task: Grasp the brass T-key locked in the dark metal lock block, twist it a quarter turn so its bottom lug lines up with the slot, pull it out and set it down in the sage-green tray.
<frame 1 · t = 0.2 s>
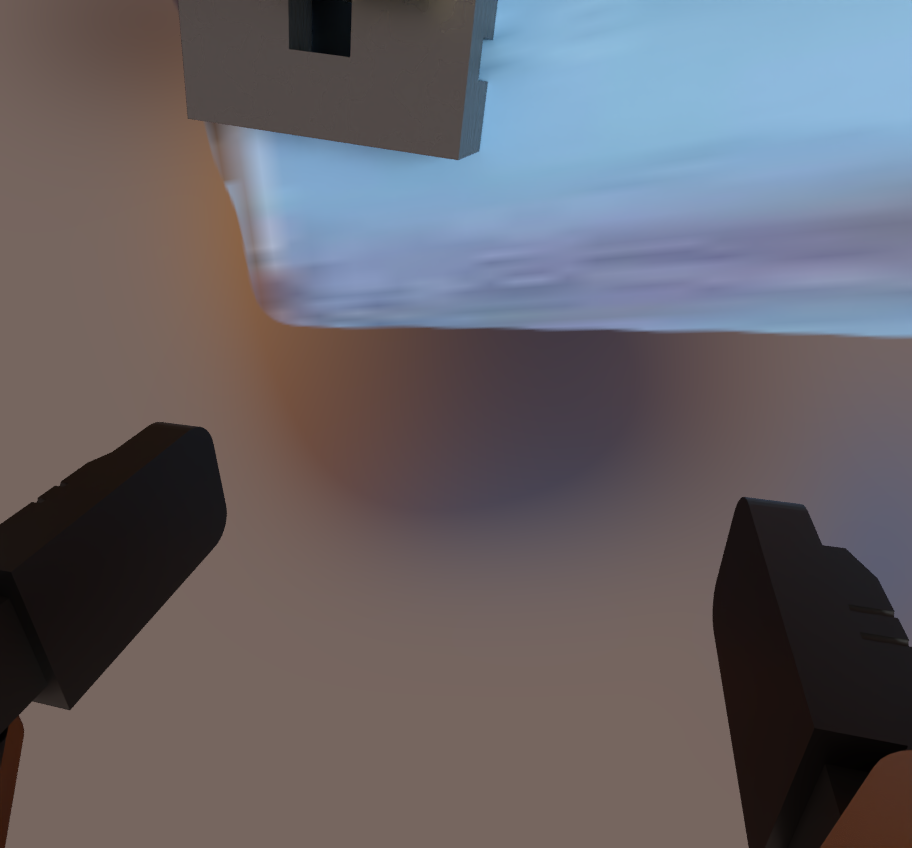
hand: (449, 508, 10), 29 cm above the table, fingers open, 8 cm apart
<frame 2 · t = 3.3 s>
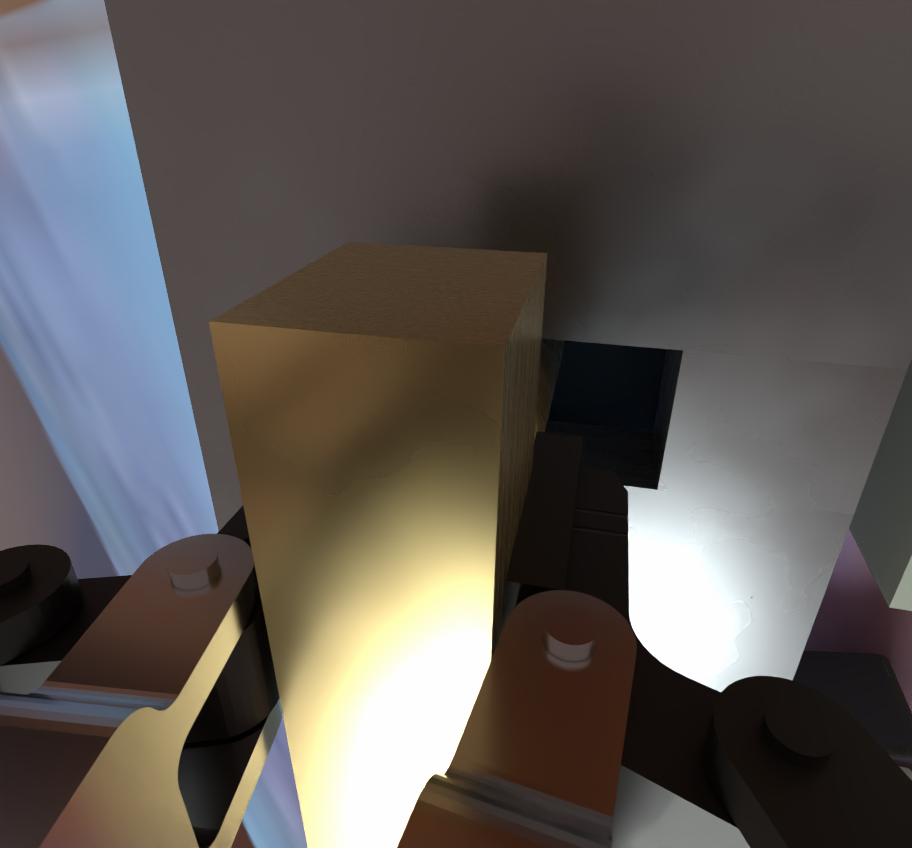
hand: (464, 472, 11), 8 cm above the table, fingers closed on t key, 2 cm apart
t key: (527, 324, 17), resting in lock block, touching gripper
lock block: (526, 324, 17), on the table
calculator: (699, 778, 25), on the table
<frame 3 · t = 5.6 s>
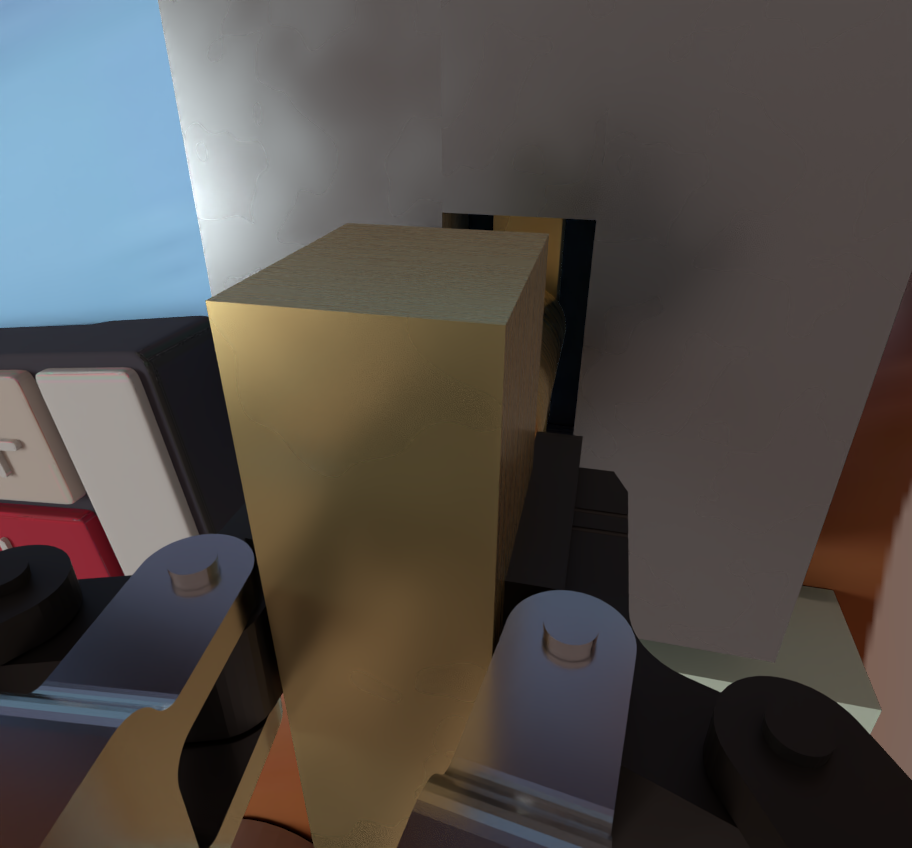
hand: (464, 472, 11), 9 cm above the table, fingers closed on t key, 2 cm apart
t key: (528, 310, 17), point 1 cm above the table, touching gripper
lock block: (537, 307, 18), on the table
tray: (585, 703, 25), on the table
calculator: (101, 450, 26), on the table
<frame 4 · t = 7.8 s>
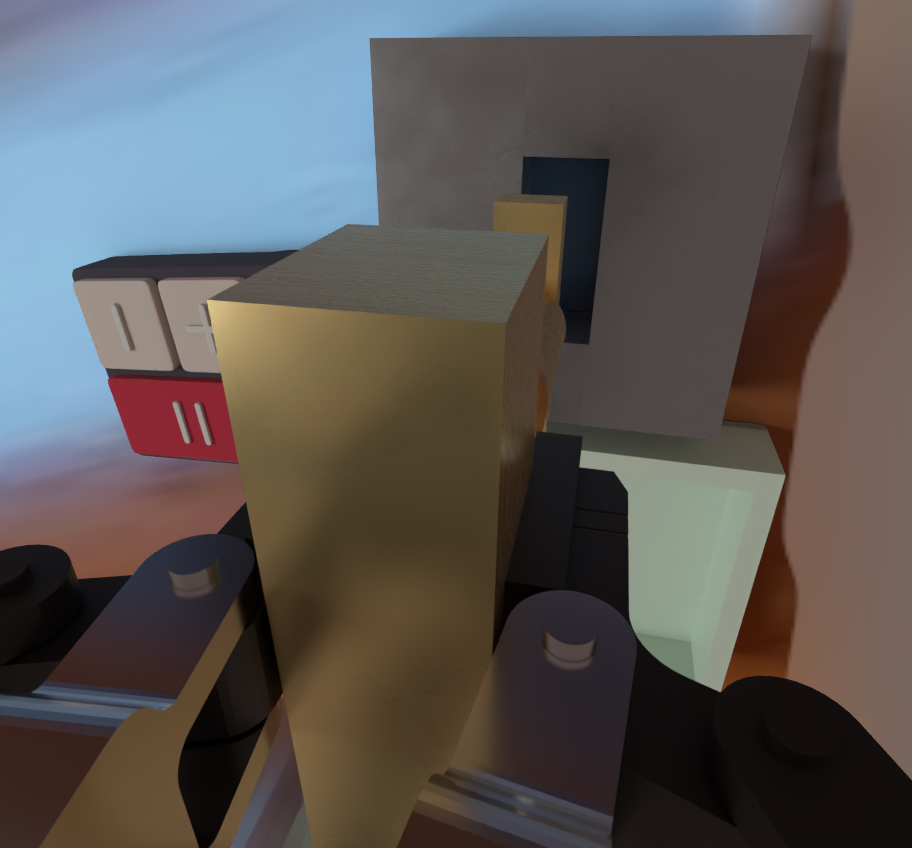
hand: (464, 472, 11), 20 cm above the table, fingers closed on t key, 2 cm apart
t key: (528, 312, 17), point 13 cm above the table, touching gripper
lock block: (568, 229, 28), on the table
tray: (597, 529, 35), on the table
calculator: (256, 349, 35), on the table
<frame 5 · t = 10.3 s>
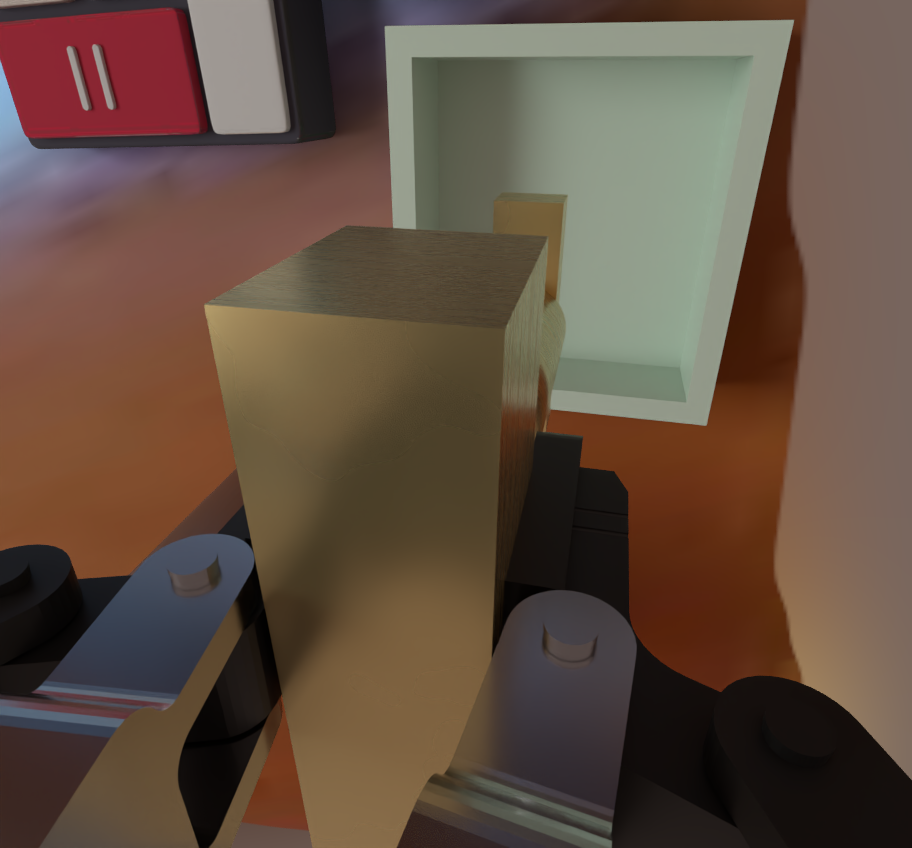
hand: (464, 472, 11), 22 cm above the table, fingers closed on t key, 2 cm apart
t key: (528, 311, 17), point 14 cm above the table, touching gripper
tray: (567, 221, 29), on the table
calculator: (176, 12, 30), on the table
when the fingers open (10 cm above the table, at t = 12.6 s): t key drops 2 cm, resting on tray.
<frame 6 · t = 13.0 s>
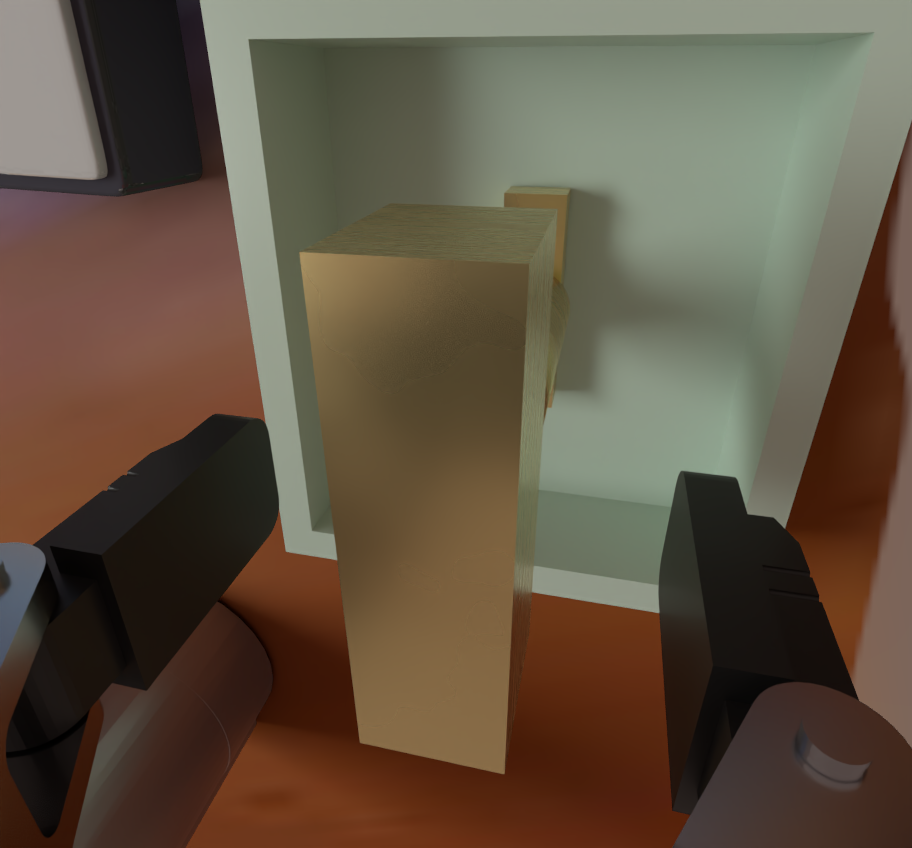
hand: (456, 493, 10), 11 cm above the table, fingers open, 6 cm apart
t key: (534, 295, 19), point 1 cm above the table, touching tray
tray: (536, 297, 19), on the table
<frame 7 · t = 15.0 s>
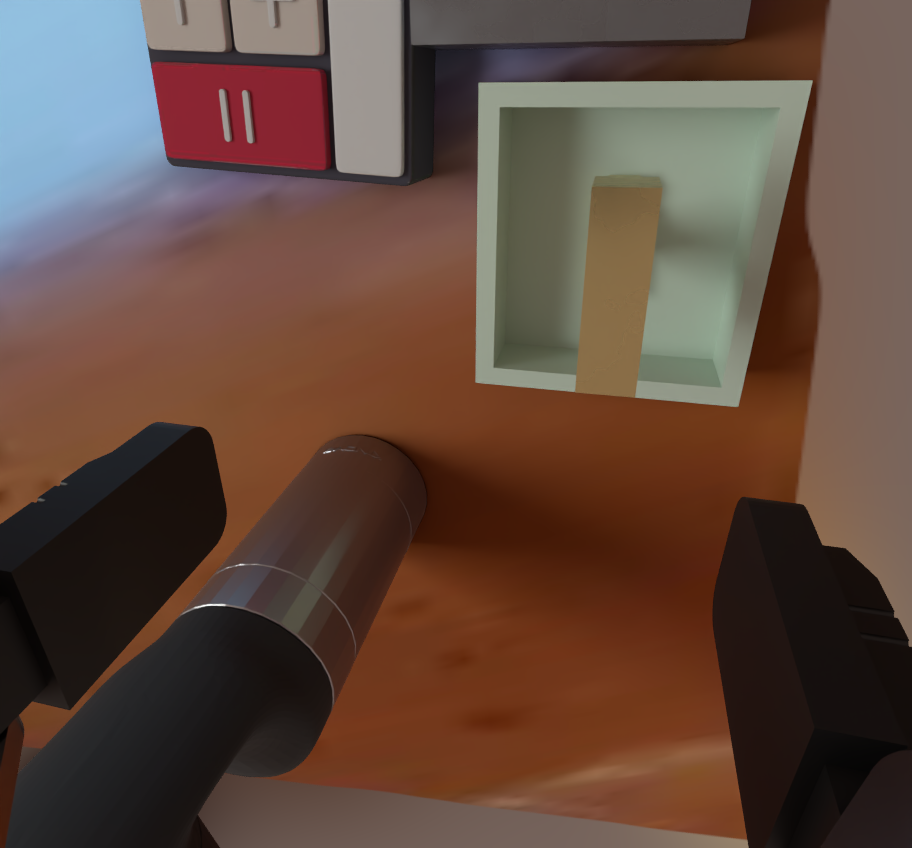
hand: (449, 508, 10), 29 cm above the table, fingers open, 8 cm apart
t key: (618, 234, 34), point 1 cm above the table, touching tray
tray: (618, 236, 35), on the table
calculator: (305, 62, 35), on the table
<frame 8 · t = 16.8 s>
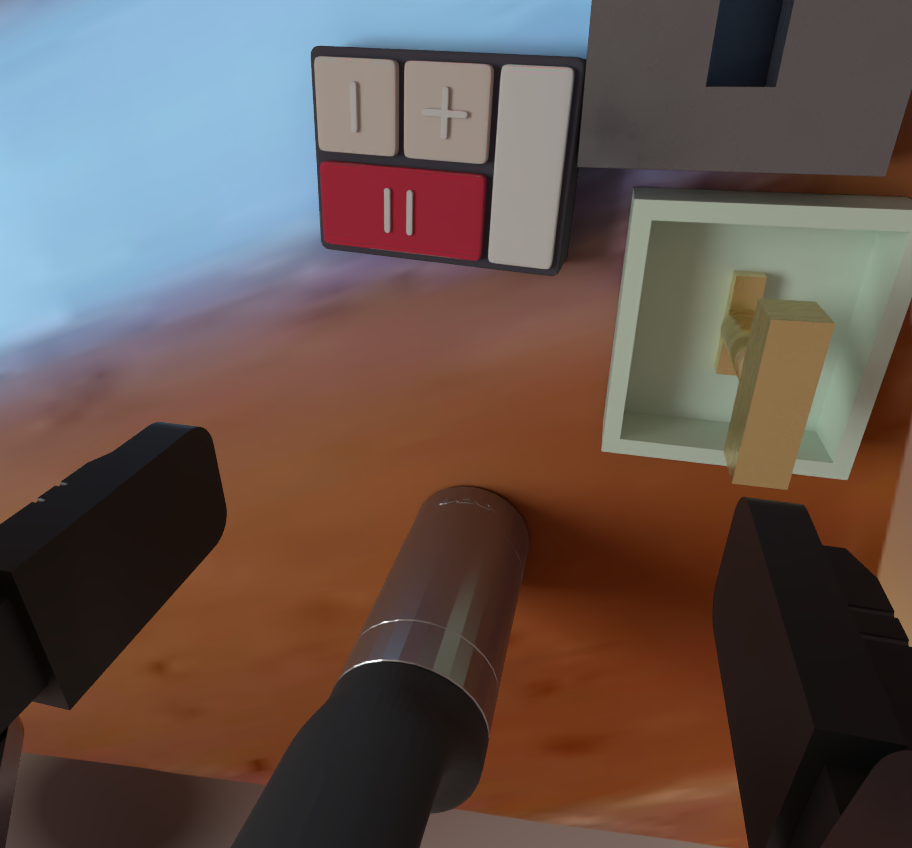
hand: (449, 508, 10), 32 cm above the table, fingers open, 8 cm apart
t key: (737, 321, 38), point 1 cm above the table, touching tray
lock block: (739, 9, 32), on the table
tray: (735, 321, 38), on the table
calculator: (453, 158, 38), on the table
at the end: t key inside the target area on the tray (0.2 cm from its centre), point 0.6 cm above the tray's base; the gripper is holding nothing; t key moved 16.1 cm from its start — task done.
